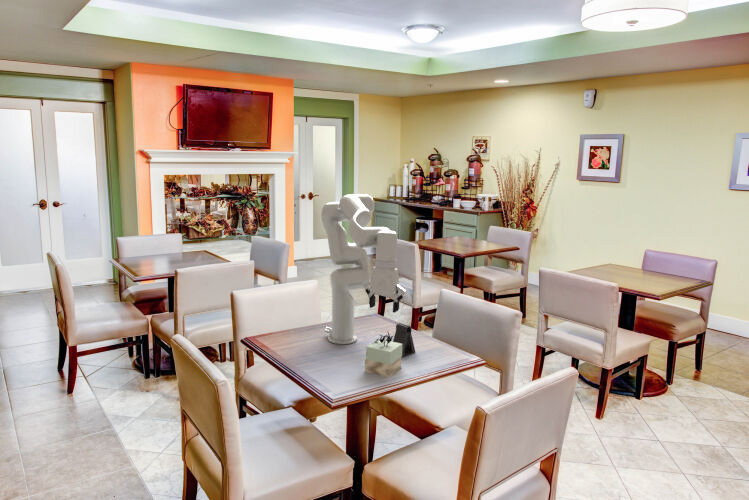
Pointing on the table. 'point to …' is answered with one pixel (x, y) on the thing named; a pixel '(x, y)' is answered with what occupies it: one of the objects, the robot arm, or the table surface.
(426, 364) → the table surface
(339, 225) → the robot arm
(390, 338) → the creature
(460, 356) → the table surface
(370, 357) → the tower top
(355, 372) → the table surface
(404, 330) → the phone stand
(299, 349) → the table surface
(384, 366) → the tower base
